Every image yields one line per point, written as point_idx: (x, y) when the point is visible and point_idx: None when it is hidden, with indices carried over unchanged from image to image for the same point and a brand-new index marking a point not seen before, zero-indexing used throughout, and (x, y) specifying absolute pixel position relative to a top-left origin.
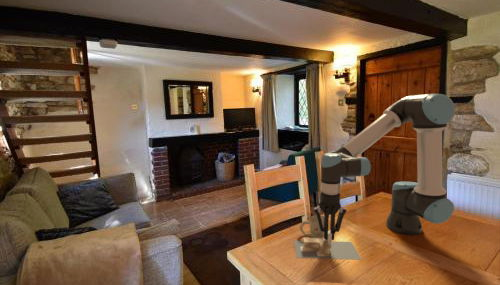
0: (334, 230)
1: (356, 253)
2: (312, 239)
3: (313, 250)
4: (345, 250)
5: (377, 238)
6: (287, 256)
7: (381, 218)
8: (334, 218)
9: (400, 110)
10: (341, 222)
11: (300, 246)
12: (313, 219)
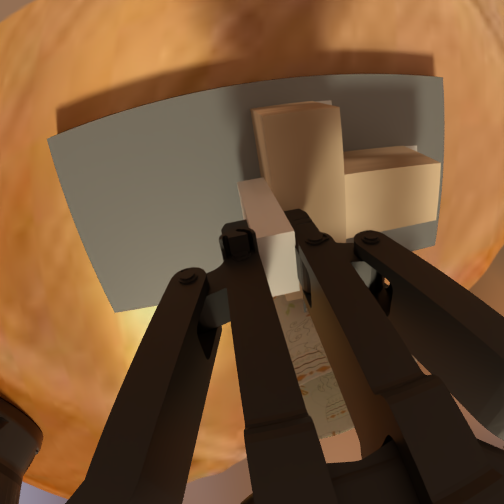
0: (226, 269)
1: (75, 197)
2: (386, 210)
3: (356, 152)
4: (139, 213)
5: (33, 365)
6: (461, 117)
7: (65, 452)
8: (253, 409)
9: None
10: (131, 367)
11: None
12: None
